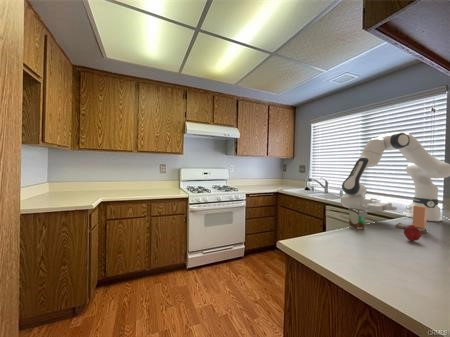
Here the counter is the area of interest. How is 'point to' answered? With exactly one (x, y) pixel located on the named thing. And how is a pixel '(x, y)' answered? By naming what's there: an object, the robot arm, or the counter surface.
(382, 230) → the counter surface
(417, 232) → the onion
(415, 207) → the orange rectangular block
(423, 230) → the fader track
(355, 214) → the food container
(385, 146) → the robot arm
